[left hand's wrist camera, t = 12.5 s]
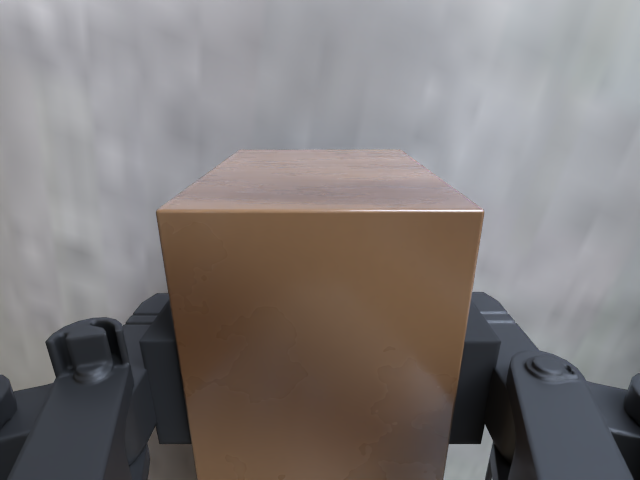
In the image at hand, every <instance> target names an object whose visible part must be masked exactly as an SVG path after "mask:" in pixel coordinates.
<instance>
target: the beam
mask: <svg viewBox="0 0 640 480" xmlns="http://www.w3.org/2000/svg"><path fill="white" fill-rule="evenodd" d="M156 216H157V223H158V229H159V236H160V242H161V248H162V255H163V261H164V268H165V274H166V281H167V287H168V294H169V300H170V307H171V313H172V319H173V326H174V332H175V339H176V345H177V352H178V358H179V365H180V371H181V377H182V384H183V390H184V397H185V403H186V410H187V416H188V423H189V429H190V436H191V442H192V448H193V455H194V461H195V468H196V474H197V480H443V478H444V471H445V465H446V458H447V452H448V445H449V439H450V432H451V426H452V419H453V413H454V406H455V400H456V393H457V387H458V380H459V374H460V367H461V361H462V354H463V348H464V341H465V335H466V328H467V322H468V315H469V309H470V302H471V296H472V289H473V283H474V276H475V270H476V263H477V257H478V250H479V244H480V237H481V231H482V224H483V218H484V210H483V209H482V208H481V207H479V206H478V205H476V204H475V203H474V202H472V201H471V200H470V199H468V198H467V197H465V196H464V195H463V194H461V193H460V192H458V191H457V190H456V189H454V188H453V187H452V186H450V185H449V184H447V183H446V182H445V181H443V180H442V179H440V178H439V177H438V176H436V175H435V174H434V173H432V172H431V171H429V170H428V169H427V168H425V167H424V166H423V165H421V164H420V163H418V162H417V161H416V160H414V159H413V158H411V157H410V156H409V155H407V154H406V153H405V152H403V151H402V150H238V151H237V152H236V153H234V154H233V155H231V156H230V157H229V158H227V159H226V160H225V161H223V162H222V163H220V164H219V165H218V166H216V167H215V168H214V169H212V170H211V171H209V172H208V173H207V174H205V175H204V176H203V177H201V178H200V179H198V180H197V181H196V182H194V183H193V184H192V185H190V186H189V187H187V188H186V189H185V190H183V191H182V192H181V193H179V194H178V195H176V196H175V197H174V198H172V199H171V200H170V201H168V202H167V203H165V204H164V205H163V206H161V207H160V208H159V209H157V211H156Z"/></svg>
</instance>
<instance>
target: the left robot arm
mask: <svg viewBox="0 0 640 480" xmlns="http://www.w3.org/2000/svg"><path fill="white" fill-rule="evenodd" d="M45 343H46V346H47V349H48V352H49V356H50V359H51V362H52V366H53V369H54V372H55V376H56V379H55V381H54V383H51V384H48V385H43V386H38V387H34V388H29V389H24V390H19V391H14V392H13V390H12V387H11V384H10V381H9V379H7V378H6V377H5V376H3V375H0V480H148V472H149V464H150V455H149V449H148V444H147V442H148V440H149V438H150V436H151V434H152V432H153V430H154V428H155V425H156V429H157V434H158V439H159V444H192V442H191V436H190V429H189V423H188V416H187V410H186V403H185V397H184V390H183V384H182V377H181V371H180V365H179V358H178V352H177V345H176V339H175V332H174V326H173V319H172V313H171V307H170V300H169V294H168V293H157V294H155V295H154V296H152V297H150V298H149V299H147V300H146V301H144V302H142V303H141V305H140V306H139V307H138V308H137V309H136V311H135V312H134V313H133V316H131V317H130V318H129V319H128V320H127V322H126V325H123V326H122V324H121V323H120V322H119V321H117V320H116V319H112V318H107V317H102V318H90V319H86V320H81V321H78V322H75V323H72V324H70V325H67V326H65V327H63V328H61V329H60V330H58V331H57V332H55V333H53V334H52V335H51V336H50V337H49V338H48V340H47V341H46V342H45ZM484 425H486V427H487V429H488V431H489V433H490V435H491V437H492V439H493V444H492V449H491V454H490V458H489V463H488V468H487V472H486V478H485V480H491V479H493V480H640V373H638V374H637V375H635V376H634V377H633V378H632V379H631V382H630V385H629V388H628V390H625V389H620V388H615V387H610V386H606V385H601V384H596V383H592V382H588V381H586V380H585V378H584V376H583V375H582V374H581V372H580V371H579V370H578V369H577V368H576V367H575V366H574V365H572V364H571V363H569V362H568V361H567V360H565V359H562V358H560V357H558V356H556V355H554V354H550V353H547V352H543V351H539V350H538V348H537V347H536V346H535V345H534V344H533V342H532V341H531V340H530V339H529V338H528V336H527V335H526V334H525V333H524V332H523V330H522V329H521V328H520V327H519V326H518V324H517V323H515V321H514V320H513V318H512V317H511V316H510V315H509V314H507V311H506V310H505V309H504V308H503V306H502V305H501V304H500V303H499V302H498V301H497V300H495V299H494V298H492V297H491V296H489V295H487V294H486V293H484V292H472V296H471V302H470V309H469V315H468V322H467V328H466V335H465V341H464V348H463V354H462V361H461V367H460V374H459V380H458V387H457V393H456V400H455V406H454V413H453V419H452V426H451V432H450V439H449V444H481V440H482V435H483V430H484Z"/></svg>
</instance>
